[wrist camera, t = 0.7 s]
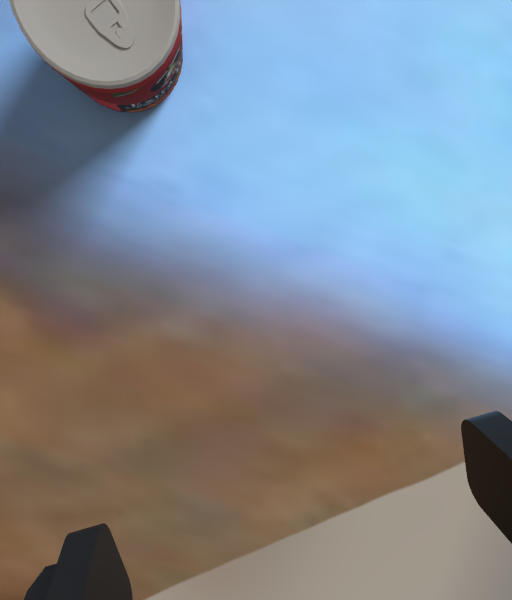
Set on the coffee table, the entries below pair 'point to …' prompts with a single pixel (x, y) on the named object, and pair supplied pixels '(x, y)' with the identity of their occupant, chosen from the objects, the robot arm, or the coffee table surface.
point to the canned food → (108, 46)
